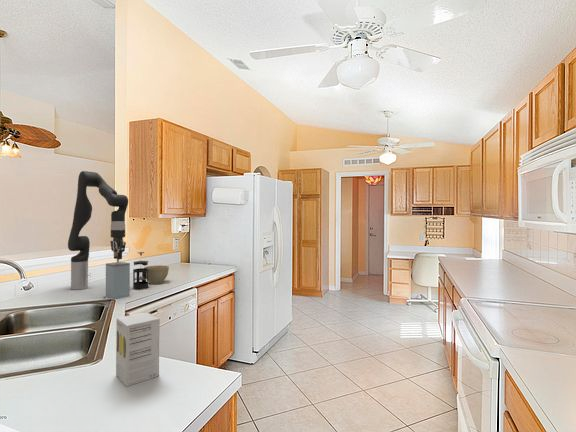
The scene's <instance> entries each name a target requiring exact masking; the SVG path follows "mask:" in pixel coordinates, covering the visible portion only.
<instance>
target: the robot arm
mask: <svg viewBox="0 0 576 432" xmlns="http://www.w3.org/2000/svg"><path fill="white" fill-rule="evenodd" d="M88 187H89V188H92V187H93V188H97V189H98V193H99V194H100V195H101V196H102V198H104V199H105V201H106V202H107V204H108V205H109V206H110V207H115V208H116V207H117V208H118V209H116V210H114V211H111V214H110V216H111V219H110V238H113V239H112V240H110V247H111V251H112V252H113V253H114V251H118V259H119V260H122V259H123V253H124V252H125V250H126V243H127V242H126V241H124V238H125V237H126V222H125V221H126V212H127V209H128V205H129V198H128V197H127V195H125V194H118V193H117V191H116V190H115V189H114V188H113V187H111V186H110V185H108V183H107V181H105V179H104V178H103V177H102V176H101V175H100V174H99V173H98V172H96V171H87V170H82V171H80V172H79V174H78V178H77V190H76V200H75V206H74V212H73V216H72V217H73V220H72V223H71V228H70V233H69V237H68V241H67V249H68V250H69V251H71V252H78V253H77V254H76V255H73V256H71V258H70V290H73V291H75V290H85V289H88V288H89V257H90V242H91V241H90V239H89V237H88V236H86V235H80V233H81V231H82V229H83V228H84V227H85V226H86V225H87V223H88V222H89V221H90V220H91V217H92V213H93V206H92V204H91V201H90V199H89V197H88V193H87V188H88ZM113 259H115V260H117V257H114V256H113Z"/></svg>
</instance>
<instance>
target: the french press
mask: <svg viewBox="0 0 576 432" xmlns="http://www.w3.org/2000/svg"><path fill="white" fill-rule="evenodd" d="M137 254H139V255H140V256H142V255H143V254H145V252H144V251H143V252H142V251H139V252H137ZM132 263H133V266H137V265H141V266H144V267H147V266H148V264H149V260H137V261H133V262H132ZM144 267H140V268H133V271H132V272H133V273H132V274H133V275H132V280H133V281H132V282H133V283H132V290H136V291H137V290H146V289H149V288H150V286H149V281H148V269H147V268H144ZM146 272H147V277H146Z"/></svg>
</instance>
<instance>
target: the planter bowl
mask: <svg viewBox="0 0 576 432" xmlns="http://www.w3.org/2000/svg"><path fill="white" fill-rule="evenodd" d="M143 268H147V269H148V284H154V285H157V284H163V283H164V281H165V280H166V279H167V277H168V275H169V269H170V267H169V266H168V265H149V266H148V265H146V266H144V267H143ZM146 277H147V272H146Z"/></svg>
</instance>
